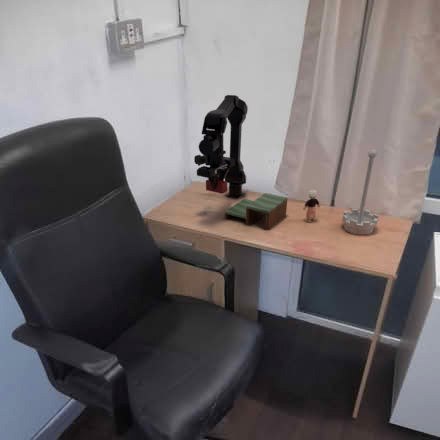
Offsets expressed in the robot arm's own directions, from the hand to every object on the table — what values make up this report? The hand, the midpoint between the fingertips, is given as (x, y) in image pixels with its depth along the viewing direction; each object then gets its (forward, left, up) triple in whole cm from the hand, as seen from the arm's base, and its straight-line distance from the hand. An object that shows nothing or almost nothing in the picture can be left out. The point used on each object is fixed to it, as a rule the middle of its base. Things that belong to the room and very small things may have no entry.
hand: (216, 188), depth 167 cm
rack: (-7, +15, -12) cm, 20 cm away
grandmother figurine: (-16, +35, -12) cm, 40 cm away
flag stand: (-19, +54, -12) cm, 58 cm away
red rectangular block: (0, 0, -1) cm, 1 cm away
